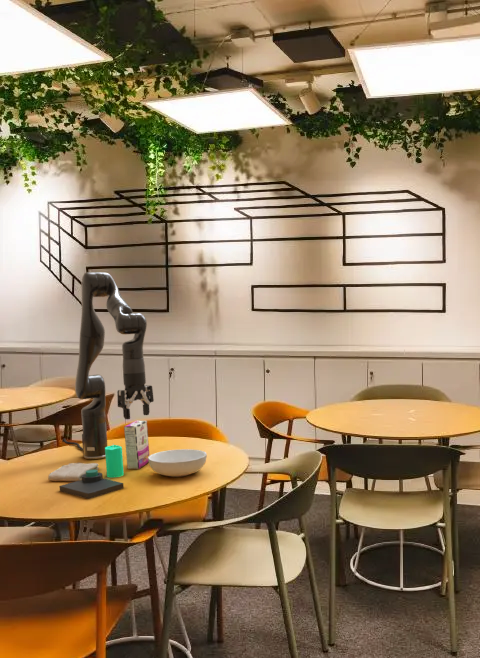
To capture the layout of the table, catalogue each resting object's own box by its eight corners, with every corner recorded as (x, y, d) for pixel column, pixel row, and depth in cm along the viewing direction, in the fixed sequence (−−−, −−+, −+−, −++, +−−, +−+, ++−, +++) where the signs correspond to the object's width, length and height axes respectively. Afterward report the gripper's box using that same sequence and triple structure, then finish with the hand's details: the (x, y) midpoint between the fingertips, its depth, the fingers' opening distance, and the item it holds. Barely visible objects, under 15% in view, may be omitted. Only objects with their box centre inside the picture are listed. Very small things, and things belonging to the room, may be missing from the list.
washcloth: (100, 469, 253) (99, 461, 253) (79, 482, 236) (79, 474, 235) (70, 469, 255) (69, 461, 255) (47, 482, 237) (47, 473, 237)
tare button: (83, 476, 232) (83, 471, 231) (93, 473, 235) (92, 468, 234) (90, 478, 229) (90, 473, 229) (100, 475, 232) (100, 470, 232)
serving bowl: (216, 467, 249) (215, 449, 248) (191, 483, 230) (190, 463, 229) (166, 464, 256) (165, 447, 255) (137, 479, 237) (136, 460, 236)
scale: (58, 491, 226) (58, 481, 225) (94, 481, 237) (94, 471, 237) (88, 499, 216) (87, 488, 215) (124, 488, 227) (124, 478, 226)
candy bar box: (138, 461, 263) (135, 420, 261) (150, 462, 262) (147, 420, 260) (126, 469, 252) (123, 426, 250) (138, 469, 251) (136, 426, 249)
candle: (108, 473, 246) (106, 441, 245) (124, 472, 247) (122, 440, 245) (105, 478, 240) (103, 445, 239) (122, 477, 241) (120, 444, 239)
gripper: (142, 368, 243) (145, 412, 245) (110, 373, 232) (113, 419, 234) (156, 369, 238) (159, 414, 240) (125, 374, 227) (128, 421, 229)
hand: (136, 417), depth 237 cm, fingers open, 8 cm apart
